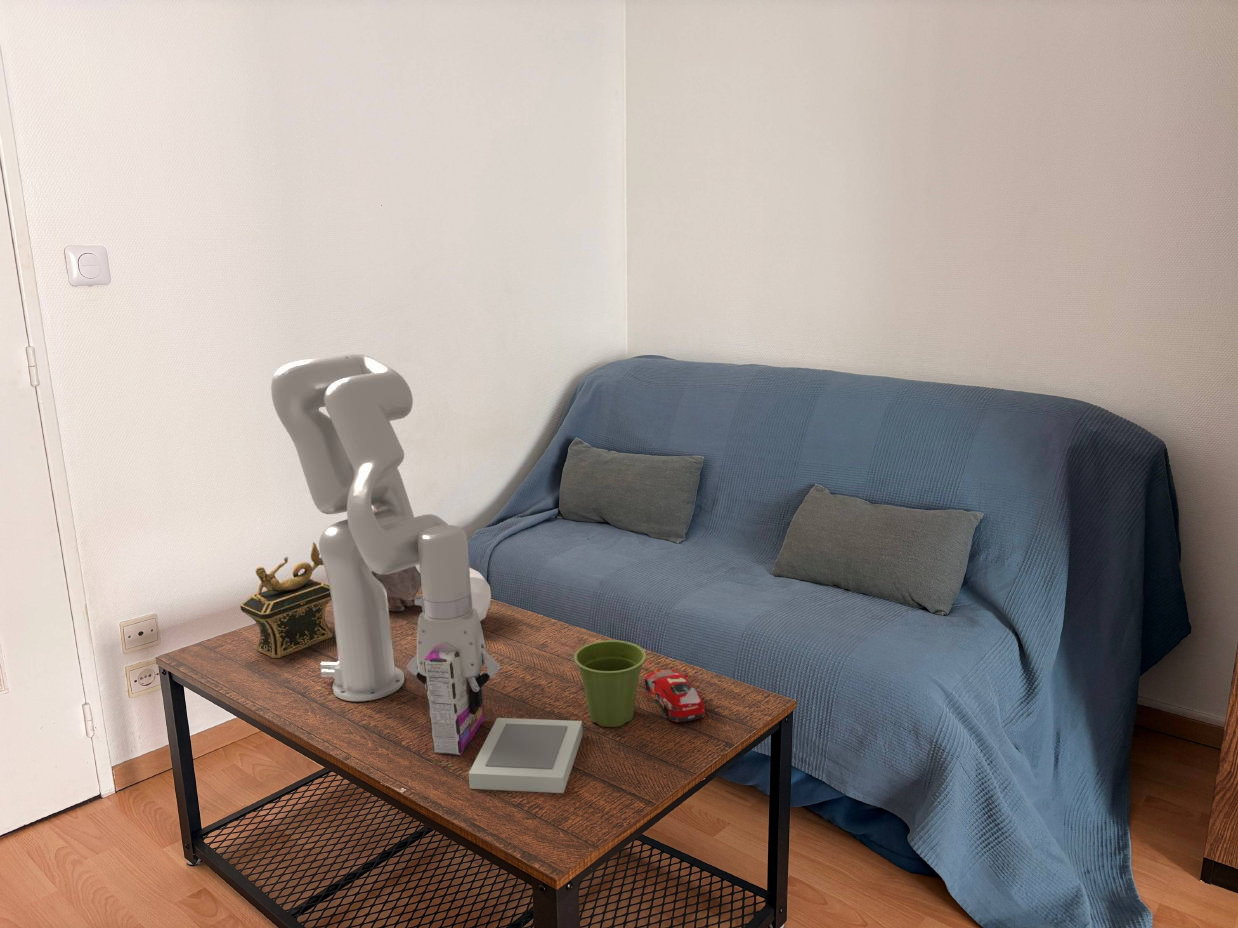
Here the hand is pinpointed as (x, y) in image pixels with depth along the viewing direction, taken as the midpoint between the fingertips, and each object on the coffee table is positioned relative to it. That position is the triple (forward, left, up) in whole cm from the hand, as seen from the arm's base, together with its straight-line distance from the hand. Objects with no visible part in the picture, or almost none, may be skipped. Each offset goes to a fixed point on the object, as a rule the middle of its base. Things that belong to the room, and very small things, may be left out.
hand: (456, 708), depth 147 cm
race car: (+34, +14, -6) cm, 37 cm away
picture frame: (+13, -6, -5) cm, 15 cm away
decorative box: (-44, +34, -5) cm, 56 cm away
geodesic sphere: (-13, +43, -5) cm, 45 cm away
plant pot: (+24, +8, -5) cm, 26 cm away
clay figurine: (-30, +52, -5) cm, 60 cm away
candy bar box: (0, 0, -5) cm, 5 cm away
